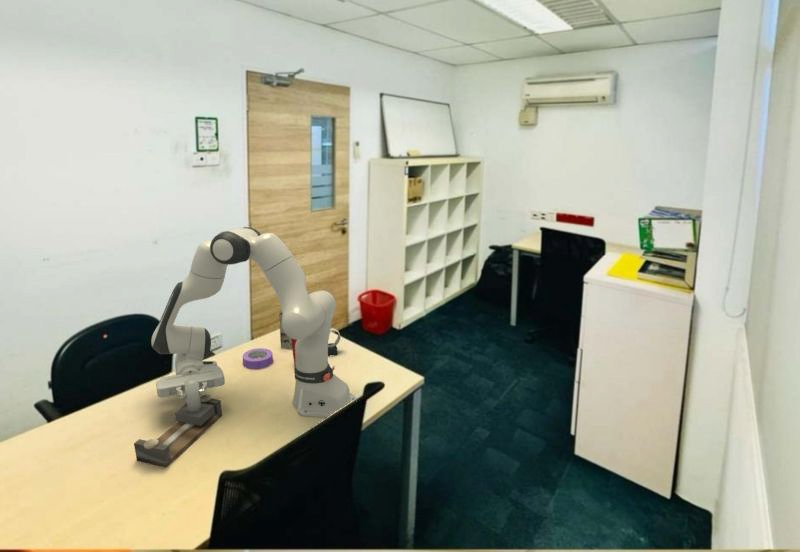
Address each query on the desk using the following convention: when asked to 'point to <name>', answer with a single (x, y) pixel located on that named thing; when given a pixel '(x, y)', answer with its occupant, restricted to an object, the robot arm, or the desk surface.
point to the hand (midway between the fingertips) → (193, 394)
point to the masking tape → (253, 363)
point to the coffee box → (284, 336)
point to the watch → (333, 344)
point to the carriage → (194, 405)
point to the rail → (175, 438)
